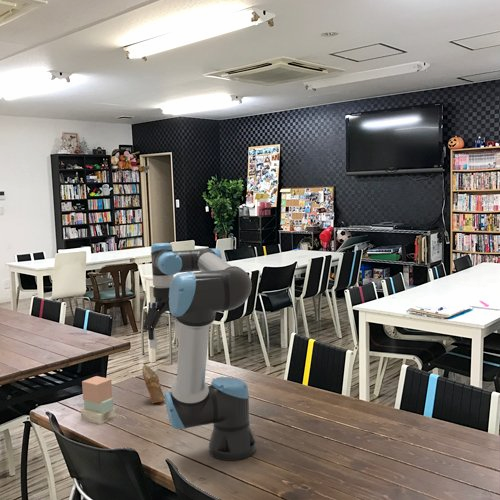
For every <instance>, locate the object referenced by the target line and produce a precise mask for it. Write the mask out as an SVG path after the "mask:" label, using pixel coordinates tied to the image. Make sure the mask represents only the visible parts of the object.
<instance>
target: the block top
mask: <svg viewBox="0 0 500 500" xmlns="http://www.w3.org/2000/svg"><path fill="white" fill-rule="evenodd" d="M83 406H84V407H83V409H86V410H90V411H95V412H99V413H103V414H105V413H107V412H109V411H111V410H113V409H114V408H115V407H114V398H113V397H112V398H110V399H107V400H105V401H103V402H100V403H94V402H90V401H86V400H83Z"/></svg>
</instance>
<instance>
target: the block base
mask: <svg viewBox="0 0 500 500" xmlns="http://www.w3.org/2000/svg"><path fill="white" fill-rule="evenodd" d="M80 416H81V420H83V421H86V422H88V423H89V422H90V423H94V424H97V425H99V424H100V425H103V424H104V423H106V422H108V421H110V420H112V419H115V418H116V417H117V410H116V407H114V409H113V410H111V411H109V412H107V413H105V414H103V413H99V412H95V411H90V410H86V409H84V408H83V409H81V410H80Z"/></svg>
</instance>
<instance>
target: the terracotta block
mask: <svg viewBox="0 0 500 500" xmlns="http://www.w3.org/2000/svg"><path fill="white" fill-rule="evenodd" d="M81 385H82V386H81V388H82V401H84V400H86V401H90V402H94V403H100V402H103V401H105V400H107V399H110V398H112V399H113V390H112V389H113V387H112V378H107V377H102V376H98V375H96V376H93V377H90V378H87V379H85V380H82V381H81Z"/></svg>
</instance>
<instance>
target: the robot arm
mask: <svg viewBox="0 0 500 500" xmlns="http://www.w3.org/2000/svg"><path fill="white" fill-rule="evenodd" d="M150 251H151V252H150V257H151V270H152V286H153V288H152V293H153V294H152V295H153V298H154V300H155V301H154V302H151V301H150V302H148V309H147V312H146V315H145V320H144V323H143V327H142V329H143V330H144V331H147V336H148V337H147V339H148V340H149V349H154V350H156V349H158V341H157V330H156V327H157V325H158V322H159V320H160V318H161V316H162V315H163V314H164V313H166V312H169V313H170V314H171V316H172V317H173V318H174V320H175V321H174V335H175V336H174V337H175V340H178V348H177V366H176V367H177V368H176V380H175V381H174V382H173V383H172V384H171V389H170V391H169V390H168V391H167V392H165V393H164V397H165V399H164V402H165V403H164V404H165V408H166V413H167V417H168V421H169V423H170V426H171V427H172V428H173V429H174V430H186V429H190V428H195V427H200V426H201V427H202V426H205V425H211V424H213V429H212V432H211V435H210V439H209V443H208V452H209V454H210V456H212V457H213V458H215V459H218V460H223V461H238V460H244V459H246V458H249V457H250V456H252V455H253V454H254V453H255V452H256V449H257V446H256V439H255V437H254V434H253V431H252V429H251V426H250V405H249V404H250V402H249V401H250V400H249V399H250V393H249V387H248V384H247V382H246V381H243V380H241V379H239V378H235V377H231V376H230V377H229V376H220V377H216V378H214V379H212V380H211V384H210V385H208V384H207V382H206V381H205V380H206V373H207V369H206V368H207V359H208V348H209V346H208V345H209V335H210V325H212V324H213V323H214V322H215V319H216V313H218V312H219V313H220V312H226V311H233V310H236V308H239V307H241V306H242V305H243V304H244V303H245V302H246V301H247V300H248V299H249V296H250V295H251V292H252V288H253V287H252V285H253V283H252V280H251V277H250V274H248V272H246V270H244V269H243V268H241V267H239V266H236V265H235V266H234V265H233V266H232V265H231V264H230V263H228V262H227V261H225V260H224V259H222V258H223V257H222V253H221V251H220V249H218V248H210V247H208V248H201V249H200V248H199V249H186V250H173V246H172V244H171V243H170V242H159V243H157V242H156V243H153V244H151V247H150ZM174 275H175V276H174Z"/></svg>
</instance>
